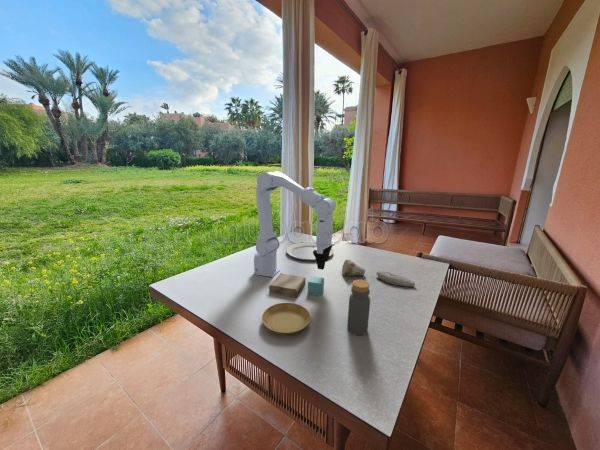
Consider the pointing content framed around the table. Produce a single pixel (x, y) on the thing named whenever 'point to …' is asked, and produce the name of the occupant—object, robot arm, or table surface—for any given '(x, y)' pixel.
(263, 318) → the plant saucer
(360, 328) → the bottle
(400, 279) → the decorative stone
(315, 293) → the teal cube
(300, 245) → the plate
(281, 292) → the walnut plinth
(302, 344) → the table surface
